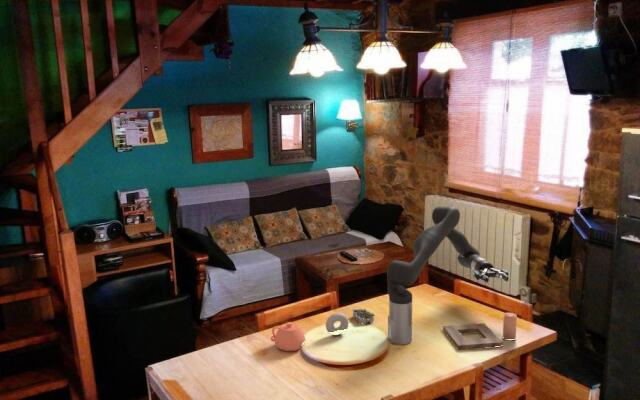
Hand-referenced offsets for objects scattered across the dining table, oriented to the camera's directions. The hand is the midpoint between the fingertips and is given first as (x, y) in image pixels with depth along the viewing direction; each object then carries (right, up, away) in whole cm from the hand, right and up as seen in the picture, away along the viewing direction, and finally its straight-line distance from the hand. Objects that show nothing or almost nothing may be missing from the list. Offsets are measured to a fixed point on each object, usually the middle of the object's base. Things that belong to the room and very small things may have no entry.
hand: (497, 279), depth 223 cm
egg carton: (-56, -20, +13) cm, 61 cm away
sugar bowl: (-88, -25, -11) cm, 93 cm away
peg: (+2, -22, -9) cm, 24 cm away
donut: (-68, -23, -3) cm, 72 cm away
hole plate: (-13, -23, -8) cm, 28 cm away
